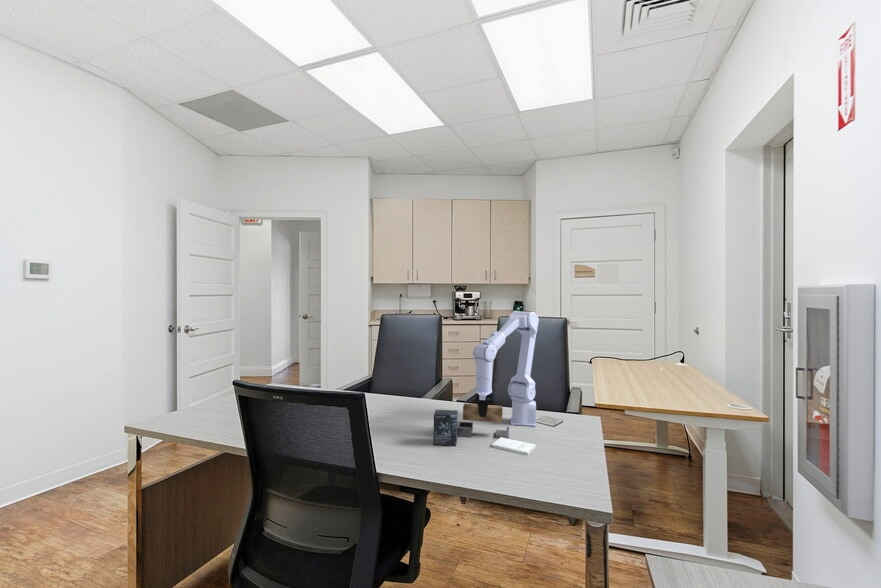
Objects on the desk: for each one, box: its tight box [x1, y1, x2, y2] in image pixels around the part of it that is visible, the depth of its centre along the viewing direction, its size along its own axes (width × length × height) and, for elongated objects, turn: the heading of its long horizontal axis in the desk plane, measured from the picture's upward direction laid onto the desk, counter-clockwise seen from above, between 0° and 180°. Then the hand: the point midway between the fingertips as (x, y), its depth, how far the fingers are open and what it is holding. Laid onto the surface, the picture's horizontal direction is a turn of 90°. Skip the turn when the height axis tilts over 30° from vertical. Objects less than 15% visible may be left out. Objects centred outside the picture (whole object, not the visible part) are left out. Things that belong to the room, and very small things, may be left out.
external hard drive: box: [491, 437, 537, 456], centre depth 138 cm, size 2×8×12 cm
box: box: [432, 409, 459, 447], centre depth 141 cm, size 8×6×11 cm
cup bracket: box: [457, 420, 474, 438], centre depth 151 cm, size 6×8×3 cm
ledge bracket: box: [495, 426, 510, 439], centre depth 148 cm, size 4×6×2 cm
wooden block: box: [462, 403, 504, 423], centre depth 149 cm, size 14×4×5 cm, turn 80°
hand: (483, 415), depth 149 cm, fingers closed on wooden block, 3 cm apart
